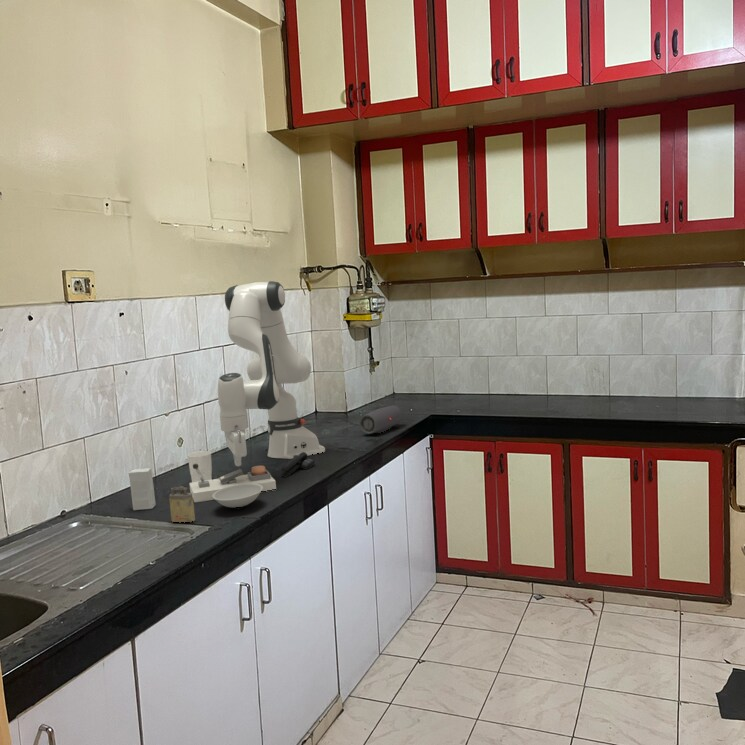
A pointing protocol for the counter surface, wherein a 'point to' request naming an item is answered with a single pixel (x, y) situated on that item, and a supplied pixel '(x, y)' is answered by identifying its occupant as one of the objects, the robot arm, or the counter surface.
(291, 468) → the can opener
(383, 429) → the bluetooth speaker
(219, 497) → the dish
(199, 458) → the white cup
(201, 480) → the toggle lever
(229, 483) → the switch panel
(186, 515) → the lighter
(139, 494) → the skincare box
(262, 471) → the push button
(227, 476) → the block
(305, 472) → the counter surface
